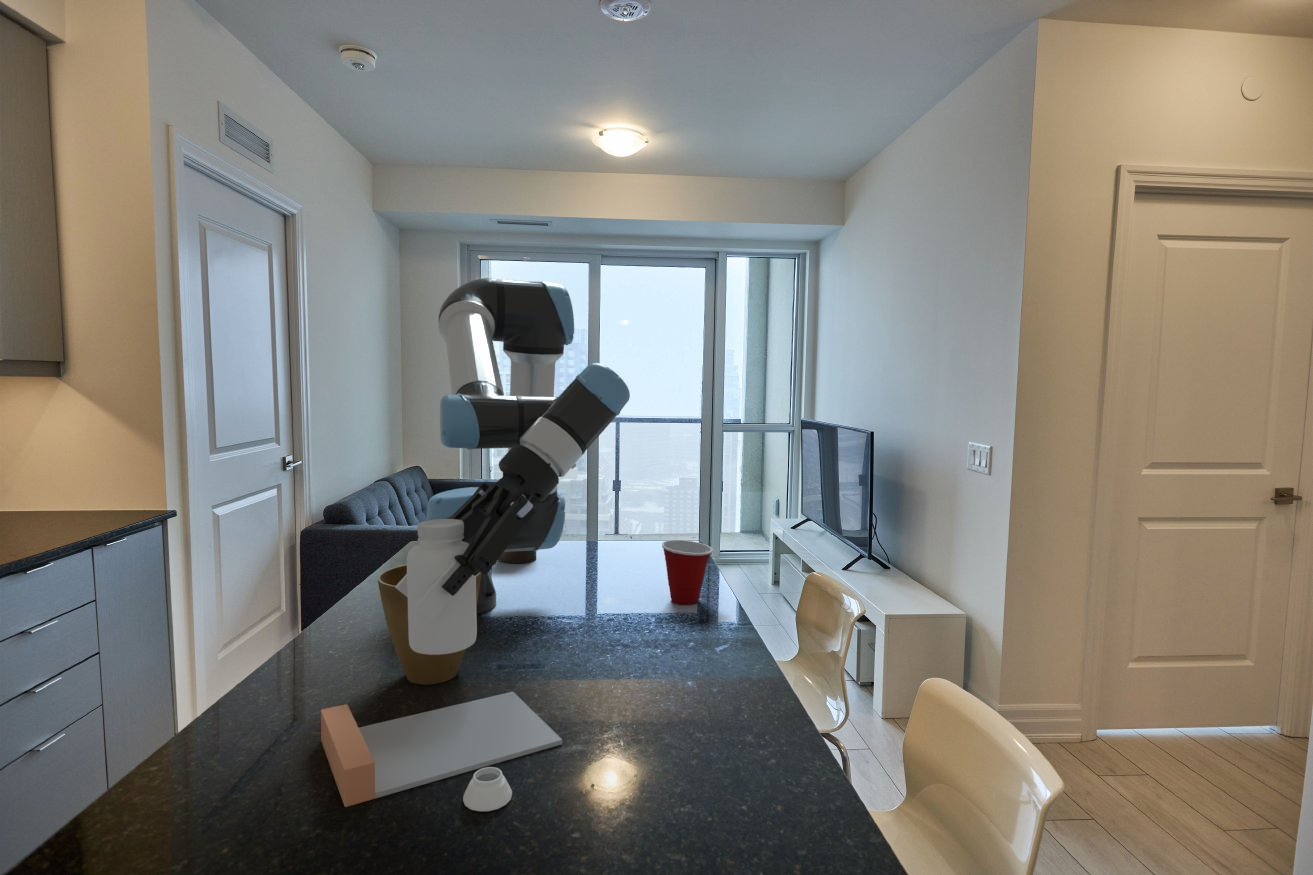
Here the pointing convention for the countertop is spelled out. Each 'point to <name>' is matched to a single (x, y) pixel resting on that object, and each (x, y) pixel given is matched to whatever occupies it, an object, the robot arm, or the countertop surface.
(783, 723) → the countertop surface
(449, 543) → the pill bottle
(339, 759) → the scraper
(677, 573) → the plastic cup
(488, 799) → the lidless jar
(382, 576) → the plant pot
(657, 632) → the countertop surface
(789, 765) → the countertop surface
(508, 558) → the pillar candle
